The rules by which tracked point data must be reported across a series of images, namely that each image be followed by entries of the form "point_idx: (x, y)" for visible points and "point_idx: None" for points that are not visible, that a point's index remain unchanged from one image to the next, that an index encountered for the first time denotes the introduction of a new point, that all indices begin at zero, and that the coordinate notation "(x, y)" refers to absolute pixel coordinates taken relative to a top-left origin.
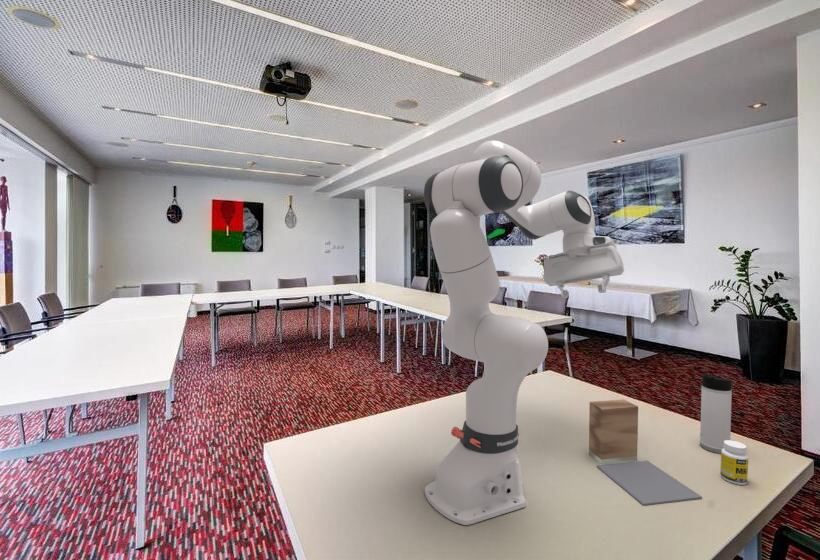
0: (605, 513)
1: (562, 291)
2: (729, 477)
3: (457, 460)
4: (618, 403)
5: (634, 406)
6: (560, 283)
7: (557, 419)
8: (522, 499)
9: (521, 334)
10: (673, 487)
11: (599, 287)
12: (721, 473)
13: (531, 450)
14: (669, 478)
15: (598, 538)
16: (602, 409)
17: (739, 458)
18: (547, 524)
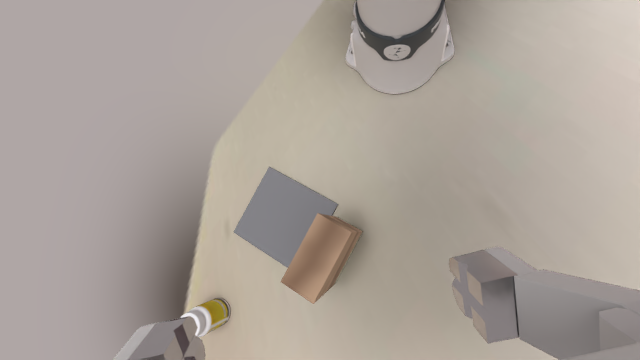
0: (289, 123)
1: (516, 268)
2: (217, 299)
3: None
4: (310, 269)
5: (285, 276)
6: (634, 325)
7: None
8: (349, 59)
9: None
10: (258, 227)
11: (163, 336)
12: (226, 305)
13: (425, 170)
14: (266, 246)
15: (278, 85)
16: (317, 214)
17: (192, 308)
18: (317, 61)
